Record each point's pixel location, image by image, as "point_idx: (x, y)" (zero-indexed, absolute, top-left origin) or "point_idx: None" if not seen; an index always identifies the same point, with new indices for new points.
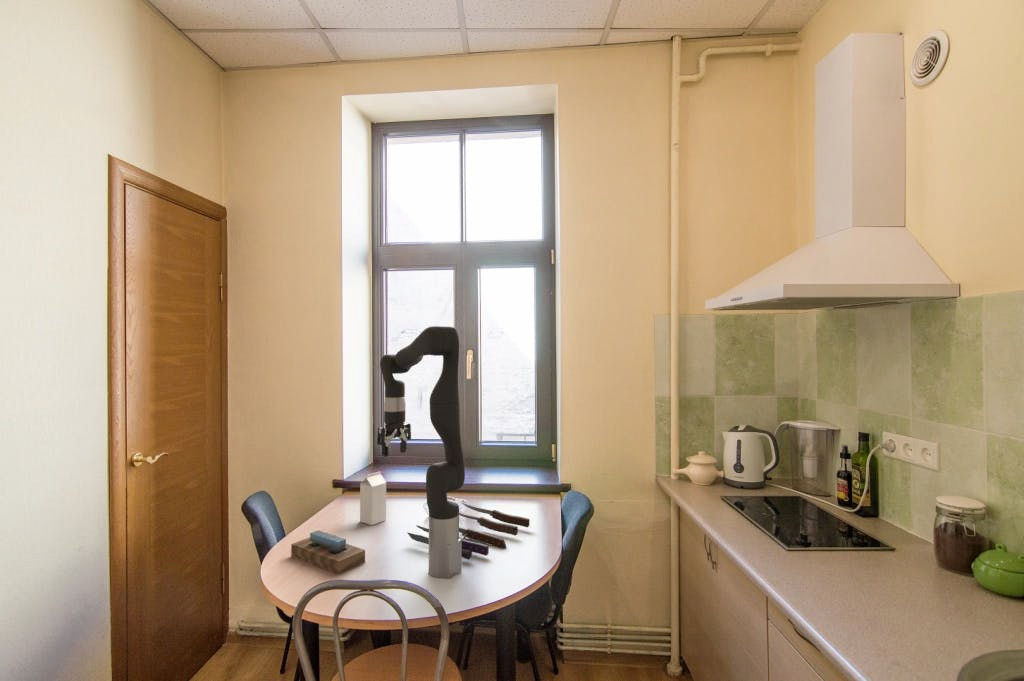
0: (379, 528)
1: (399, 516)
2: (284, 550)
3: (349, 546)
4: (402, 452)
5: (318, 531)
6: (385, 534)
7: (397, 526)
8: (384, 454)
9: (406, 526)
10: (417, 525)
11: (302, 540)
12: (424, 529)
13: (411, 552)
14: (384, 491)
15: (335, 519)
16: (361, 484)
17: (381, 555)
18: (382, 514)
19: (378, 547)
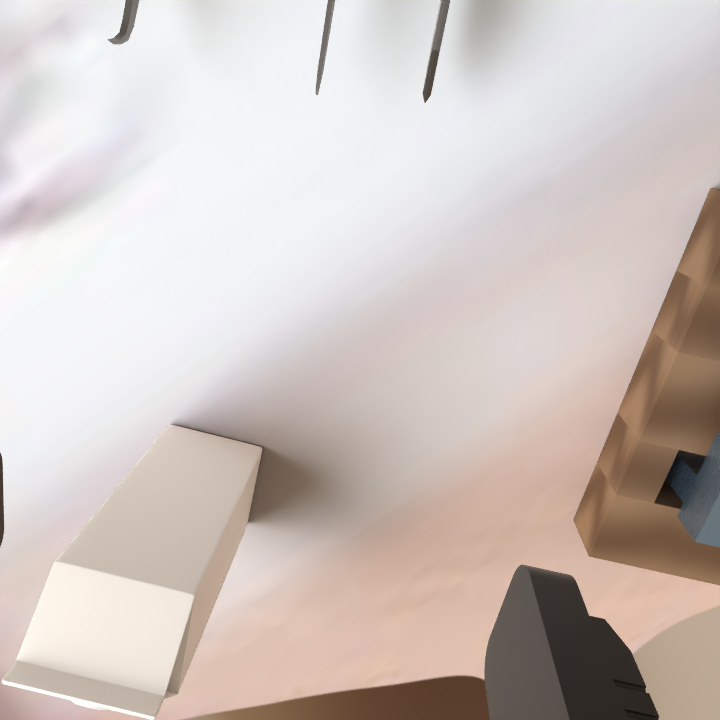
0: (277, 390)
1: (85, 391)
2: (651, 608)
3: (713, 313)
4: (2, 491)
5: (712, 530)
6: (335, 313)
7: (211, 318)
8: (617, 650)
9: (188, 271)
10: (319, 82)
11: (680, 572)
12: (332, 9)
13: (515, 6)
14: (104, 524)
15: (269, 633)
16: (180, 682)
17: (600, 160)
18: (179, 448)
19: (505, 242)
